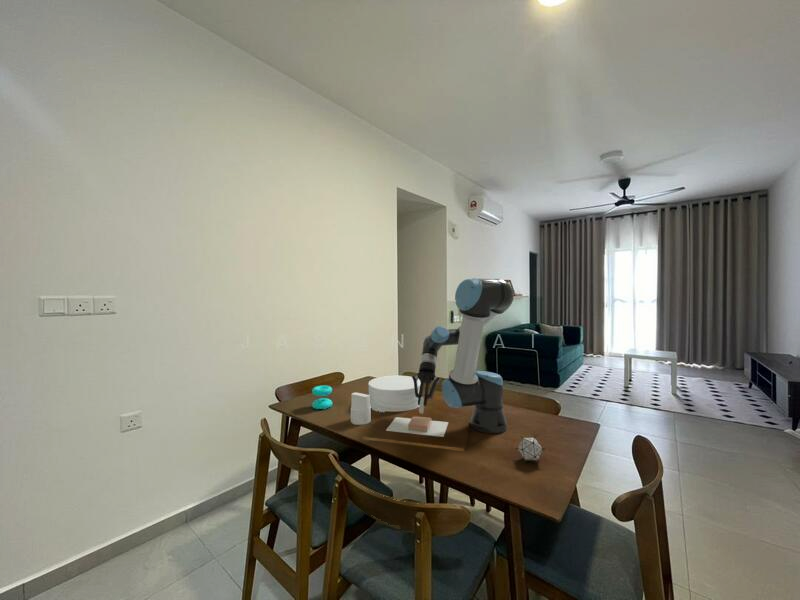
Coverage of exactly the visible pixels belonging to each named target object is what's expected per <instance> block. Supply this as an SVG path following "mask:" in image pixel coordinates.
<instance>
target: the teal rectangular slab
mask: <svg viewBox="0 0 800 600" xmlns="http://www.w3.org/2000/svg"><path fill="white" fill-rule="evenodd" d="M410 419H411V421H410V422H409V424H408V430H412V431H421V432H428V430H429V428H430V425H431V421H432V417H425V416H414V415H413V416H412V417H411V418H410Z"/></svg>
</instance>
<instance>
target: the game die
mask: <svg viewBox="0 0 800 600" xmlns="http://www.w3.org/2000/svg"><path fill="white" fill-rule="evenodd" d="M520 438H521V440H520V442H519V445H518V446H517V447H515V448H514V449H515V450H518V452H519V453H520V454H521V456H522V458H523V460H524V461H523V462H524V463H526V462H527V461H537V462H538V463H540V457H541V454H542V452H543V451H545V450H546V448H544V447H542V445H541V444H540V443H539V441H538V440H537V439H536V438H537V436H536V434H535V435H534V436H533V437H523V436H522V435H520Z"/></svg>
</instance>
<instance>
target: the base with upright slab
mask: <svg viewBox="0 0 800 600" xmlns="http://www.w3.org/2000/svg"><path fill="white" fill-rule="evenodd" d="M350 395H351V403H350V404H351V407H350V423H352V424H353V425H356V426H357V425H358V426H361V425H367V424H369V423H371V421H372V419H371V418H372V417H371V415H372V414H371V413H372V411H371V410H372V409H371V407H370V395H369V394H365V393H361V392H353V393H351V394H350Z"/></svg>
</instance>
